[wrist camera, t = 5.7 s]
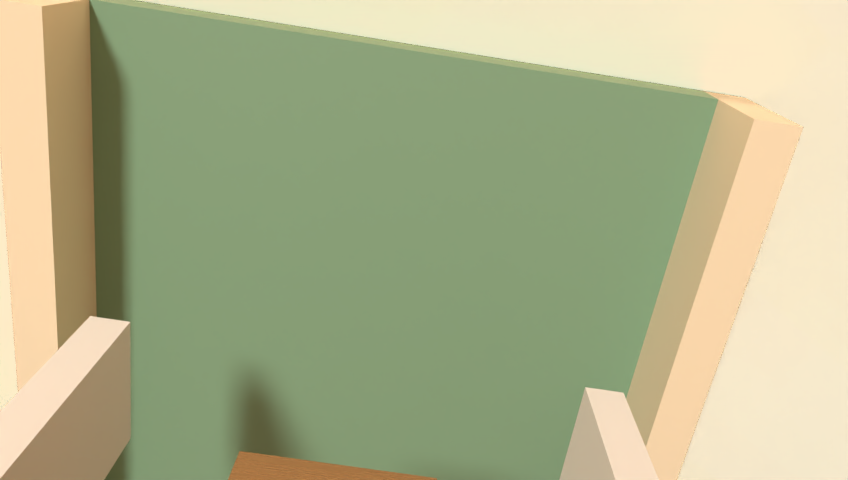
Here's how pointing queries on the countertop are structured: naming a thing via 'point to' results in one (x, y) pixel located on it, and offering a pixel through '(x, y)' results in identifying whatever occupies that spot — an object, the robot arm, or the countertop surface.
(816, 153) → the countertop surface
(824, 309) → the countertop surface
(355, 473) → the rod
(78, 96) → the pitch
